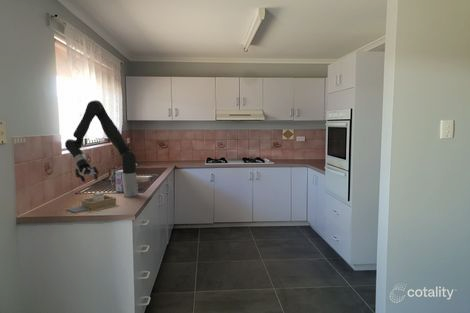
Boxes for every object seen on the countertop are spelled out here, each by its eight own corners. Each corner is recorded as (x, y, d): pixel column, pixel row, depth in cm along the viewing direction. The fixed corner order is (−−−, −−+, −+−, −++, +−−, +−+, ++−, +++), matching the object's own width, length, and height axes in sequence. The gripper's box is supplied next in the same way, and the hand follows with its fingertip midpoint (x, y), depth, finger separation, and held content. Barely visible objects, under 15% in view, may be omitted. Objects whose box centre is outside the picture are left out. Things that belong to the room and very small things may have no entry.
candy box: (122, 192, 260) (121, 171, 258) (115, 191, 261) (114, 171, 259) (132, 188, 273) (131, 168, 271) (125, 188, 274) (124, 168, 273)
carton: (102, 200, 232) (102, 194, 232) (119, 205, 218) (119, 198, 218) (78, 205, 220) (78, 198, 219) (94, 211, 206) (94, 203, 205)
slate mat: (80, 207, 216) (80, 206, 216) (89, 210, 208) (89, 209, 208) (66, 209, 209) (66, 209, 209) (74, 213, 201) (74, 212, 201)
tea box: (100, 204, 222) (99, 192, 222) (104, 205, 219) (103, 193, 218) (93, 205, 219) (93, 193, 218) (97, 206, 216) (96, 194, 215)
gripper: (72, 159, 222) (81, 178, 216) (93, 157, 233) (102, 175, 227) (69, 166, 226) (78, 185, 220) (90, 164, 237) (99, 182, 231)
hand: (90, 180), depth 224 cm, fingers open, 8 cm apart
